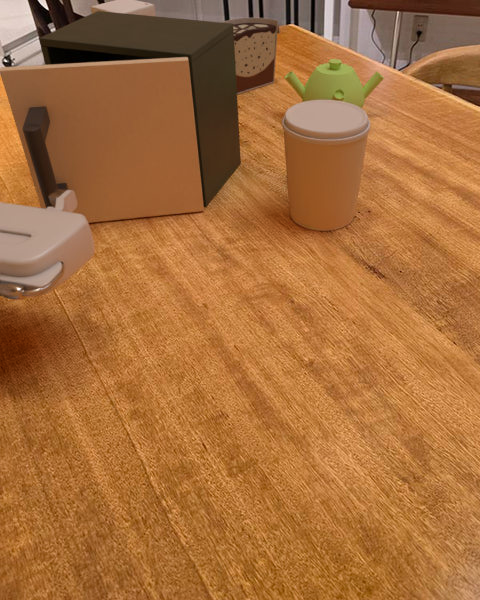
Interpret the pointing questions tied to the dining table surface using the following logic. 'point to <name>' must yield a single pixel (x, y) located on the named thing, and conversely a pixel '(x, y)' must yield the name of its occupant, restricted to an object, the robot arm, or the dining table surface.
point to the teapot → (334, 84)
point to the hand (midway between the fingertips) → (22, 189)
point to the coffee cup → (324, 161)
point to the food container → (254, 52)
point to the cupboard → (169, 44)
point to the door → (110, 135)
